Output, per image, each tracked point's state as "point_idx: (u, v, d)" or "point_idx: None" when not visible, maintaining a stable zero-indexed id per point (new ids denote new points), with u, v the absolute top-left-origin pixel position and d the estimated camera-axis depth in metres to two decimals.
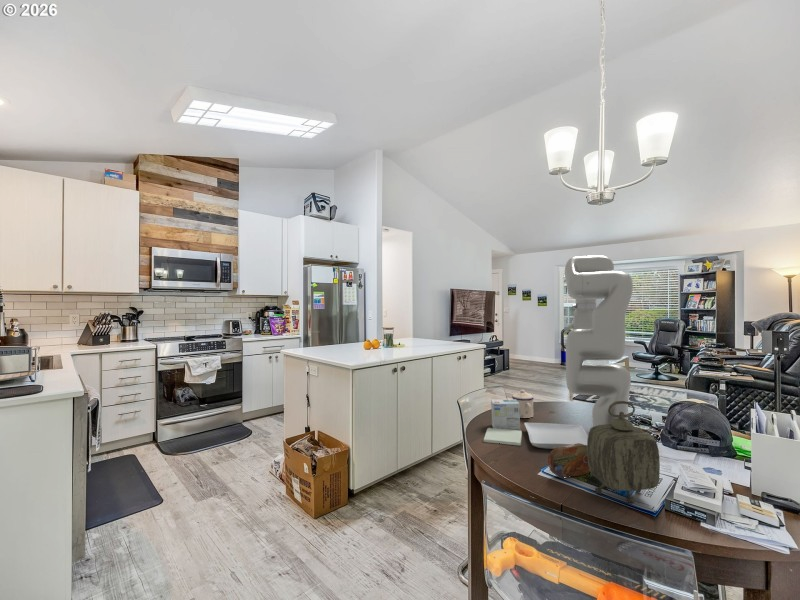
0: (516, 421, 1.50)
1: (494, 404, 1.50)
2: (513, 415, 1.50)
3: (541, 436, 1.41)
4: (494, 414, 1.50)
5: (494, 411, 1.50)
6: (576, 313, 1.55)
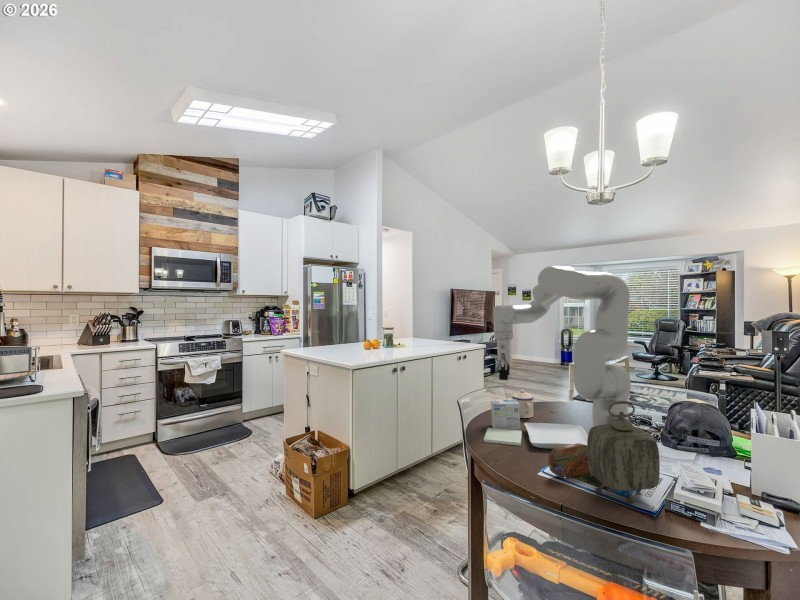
0: (516, 421, 1.50)
1: (494, 404, 1.50)
2: (513, 415, 1.50)
3: (541, 436, 1.41)
4: (494, 414, 1.50)
5: (494, 411, 1.50)
6: (508, 342, 1.49)
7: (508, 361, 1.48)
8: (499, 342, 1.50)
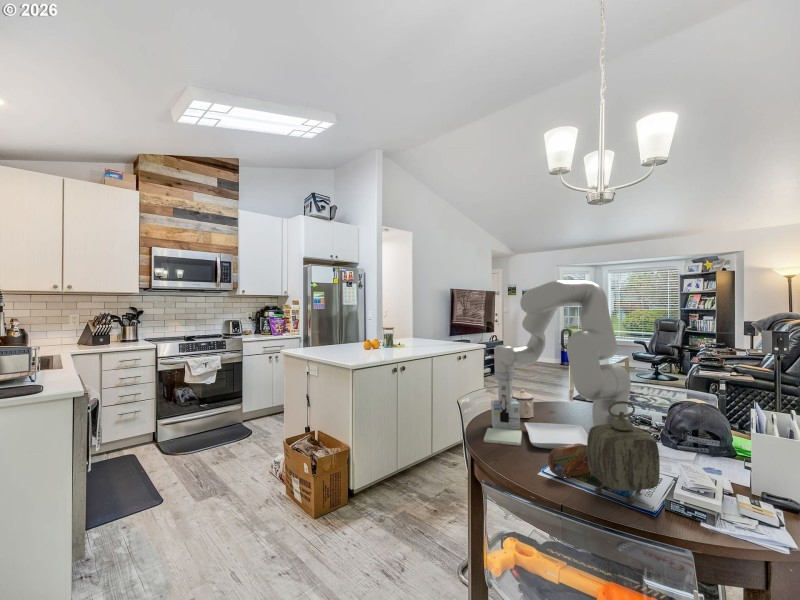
0: (516, 421, 1.50)
1: (494, 404, 1.50)
2: (513, 415, 1.50)
3: (541, 436, 1.41)
4: (494, 414, 1.50)
5: (494, 411, 1.50)
6: (509, 384, 1.49)
7: (509, 403, 1.48)
8: (500, 383, 1.50)
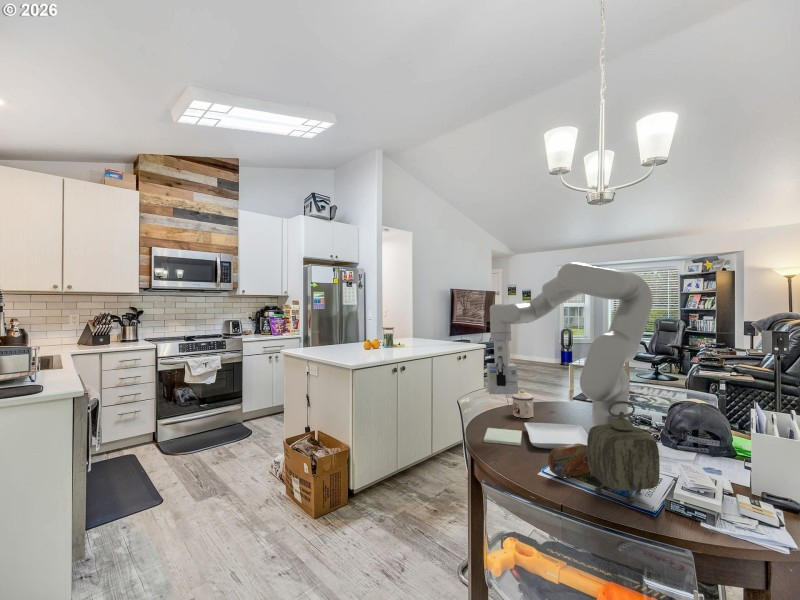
0: (513, 385, 1.38)
1: (490, 366, 1.39)
2: (510, 378, 1.38)
3: (541, 436, 1.41)
4: (489, 377, 1.39)
5: (490, 374, 1.39)
6: (506, 344, 1.38)
7: (506, 364, 1.37)
8: (496, 344, 1.38)
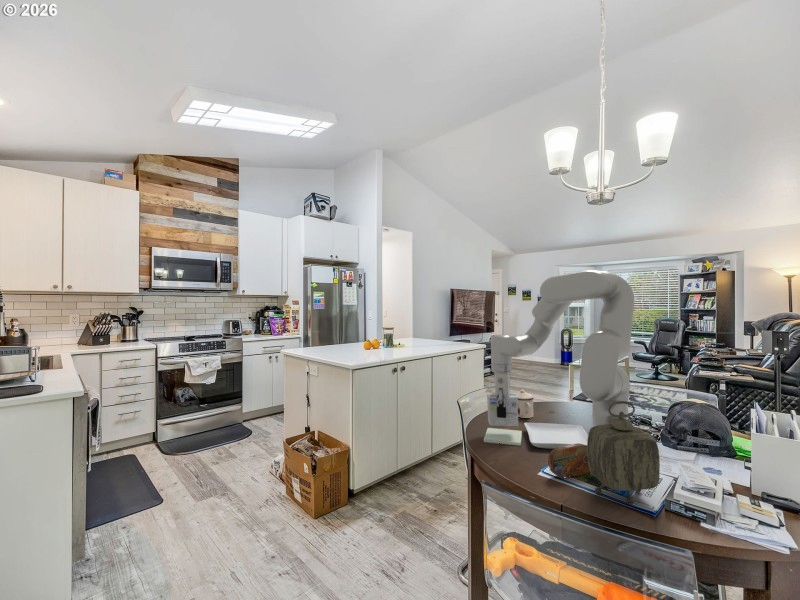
0: (513, 417, 1.38)
1: (490, 398, 1.39)
2: (510, 410, 1.38)
3: (541, 436, 1.41)
4: (490, 408, 1.39)
5: (490, 405, 1.39)
6: (507, 376, 1.37)
7: (506, 397, 1.37)
8: (497, 376, 1.38)
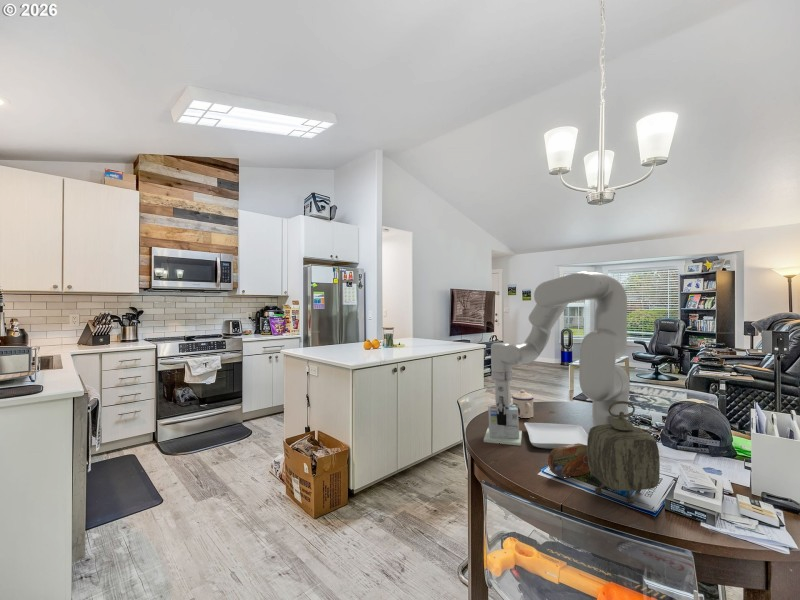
0: (514, 429, 1.38)
1: (491, 410, 1.39)
2: (511, 422, 1.38)
3: (541, 436, 1.41)
4: (490, 420, 1.39)
5: (491, 417, 1.39)
6: (507, 384, 1.37)
7: (507, 405, 1.36)
8: (497, 384, 1.38)
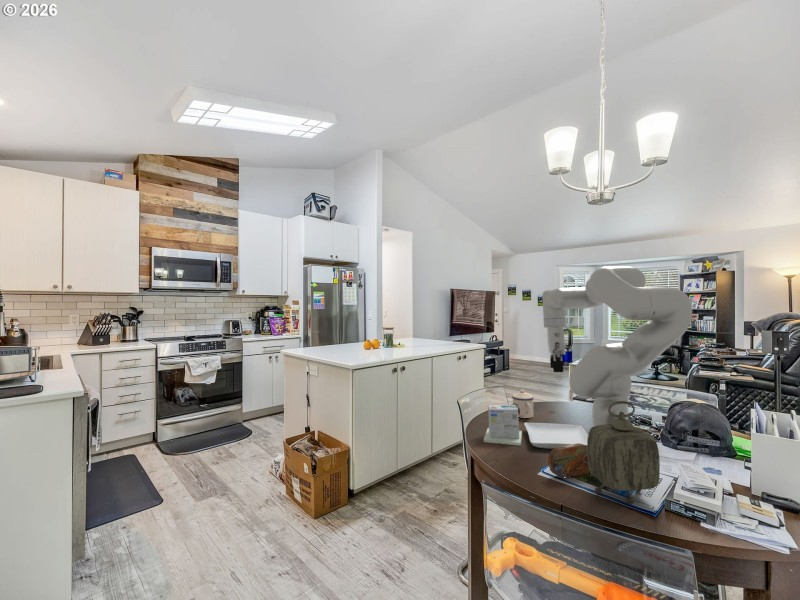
0: (514, 429, 1.38)
1: (491, 410, 1.39)
2: (511, 422, 1.38)
3: (541, 435, 1.41)
4: (490, 420, 1.39)
5: (491, 417, 1.39)
6: None
7: (563, 351, 1.33)
8: (552, 330, 1.35)
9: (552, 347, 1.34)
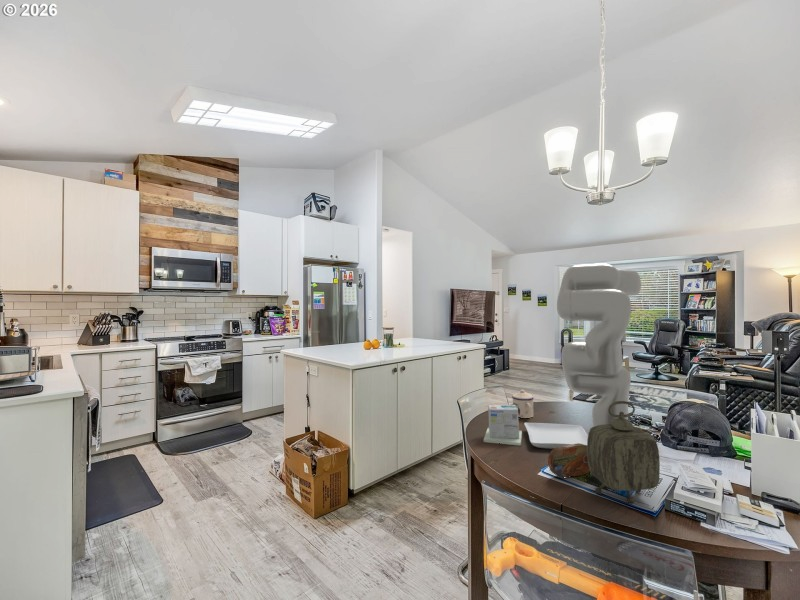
0: (514, 429, 1.38)
1: (491, 410, 1.39)
2: (511, 422, 1.38)
3: (541, 435, 1.41)
4: (490, 420, 1.39)
5: (491, 417, 1.39)
6: None
7: (624, 338, 1.29)
8: None
9: None
